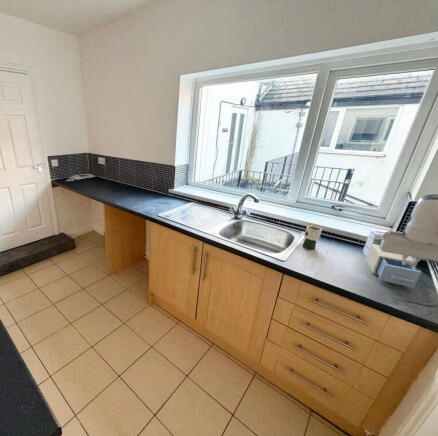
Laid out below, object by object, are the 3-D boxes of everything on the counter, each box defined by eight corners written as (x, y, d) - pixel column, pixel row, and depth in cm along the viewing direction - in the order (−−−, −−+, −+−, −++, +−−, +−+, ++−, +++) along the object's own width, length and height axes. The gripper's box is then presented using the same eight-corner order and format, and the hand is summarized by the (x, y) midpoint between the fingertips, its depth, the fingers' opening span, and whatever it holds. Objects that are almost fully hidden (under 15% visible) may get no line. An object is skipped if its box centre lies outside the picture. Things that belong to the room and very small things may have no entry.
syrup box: (365, 257, 129) (375, 233, 123) (361, 252, 134) (371, 228, 128) (379, 260, 127) (390, 235, 121) (374, 254, 132) (384, 230, 126)
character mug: (301, 242, 144) (306, 222, 139) (315, 246, 141) (321, 225, 136) (300, 250, 136) (306, 229, 131) (315, 254, 132) (322, 233, 127)
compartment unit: (408, 281, 109) (417, 263, 105) (372, 273, 115) (379, 255, 111) (397, 266, 121) (405, 249, 117) (365, 260, 127) (371, 243, 123)
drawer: (418, 294, 99) (426, 278, 96) (382, 285, 104) (388, 269, 102) (402, 272, 114) (409, 258, 111) (371, 266, 119) (376, 252, 116)
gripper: (387, 232, 98) (376, 262, 103) (462, 243, 89) (446, 275, 93) (383, 227, 103) (372, 255, 108) (453, 237, 94) (438, 268, 98)
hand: (407, 265), depth 101 cm, fingers closed
